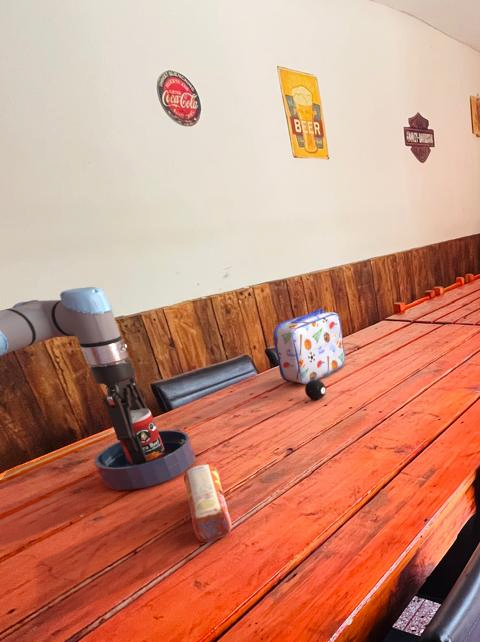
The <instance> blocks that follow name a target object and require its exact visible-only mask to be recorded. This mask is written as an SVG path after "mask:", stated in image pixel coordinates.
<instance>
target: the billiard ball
mask: <svg viewBox="0 0 480 642" xmlns="http://www.w3.org/2000/svg"><path fill="white" fill-rule="evenodd" d="M304 393H305V395H306V397H308V398H309V399H311V400H321V399H322V398H324V397H325V395H326V393H327V387H326V385H325V383H324V382H323V381H322V380H319V379H316V380H312V381H310V382H308V383H306V384H305V386H304Z"/></svg>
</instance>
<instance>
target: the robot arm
mask: <svg viewBox="0 0 480 642" xmlns="http://www.w3.org/2000/svg"><path fill="white" fill-rule="evenodd" d="M59 297H60V299H50V300H38V299H32V300H29V301H20V302H17V303H15V304H14V305H13V306H12V307H10V308H6V309H2V310H0V357H1V356H4V355H6V354H9V353H12V352H15V351H18V350H21V349H24V348H26V347H30V346H34V345H37V344H39V343H42V342H46V341H48V340H52V339H55V338H62V337H63V338H65V337H66V338H67V337H76V339H77V341H78V344H79V346H80V348H81V351H82V353H83V357H84V359H85V362H86V364H87V365H90V367H89V370H90V372H91V375H92V378H93V380H94V382H95V383H96V384H99V385H104V386H106V393H107V396H102V401H103V403H104V405H105V406H106V409H107V412H108V414H109V418H110V421H111V424H112V426H113V430H114V433H115V436H116V439H117V441H120V440H124V442H125V445H126V447H127V450H128V452H129V455H130V457H131V459H132V462H133V464H139V463H145V462H147V461H148V460H147V458H146V455H145V453H144V450H143V448H142V445H141V443H140V440H139V438H138V435H137V436H135V432H134V427H133V424H132V417H131V413H130V411H132V410H139V409H149V408H148V406H147V403H146V402H145V399H144V397H143V395H142V393H141V391H140V388H139V387H138V384H137V379H136V377H135V375H136V372H135V371H136V370H135V369H134V366H133V363H132V361H131V359H129V358H128V357H129V353H128V351H127V348H128V345H127V344H126V343H125V342H124V340H123V337H122V335H121V333H120V330H119V327H118V324H117V322H116V317H115V315H114V312H113V308H112V305H111V304H110V301H109V300H108V298H107V296H106V294H105V292H104V290H103V289H101V288H100V287H96V286H87V287H77V288H72V289H67V290H63V291H62V292H61V293H60V294H59Z"/></svg>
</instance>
